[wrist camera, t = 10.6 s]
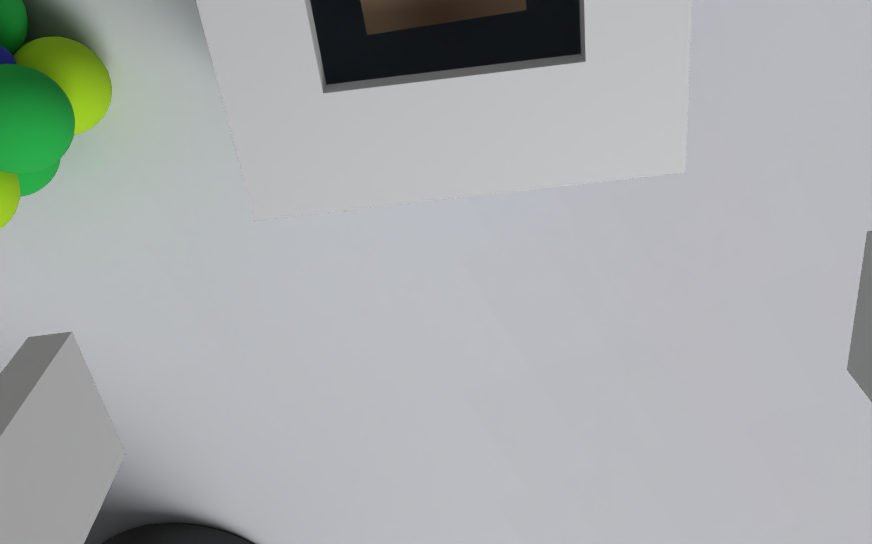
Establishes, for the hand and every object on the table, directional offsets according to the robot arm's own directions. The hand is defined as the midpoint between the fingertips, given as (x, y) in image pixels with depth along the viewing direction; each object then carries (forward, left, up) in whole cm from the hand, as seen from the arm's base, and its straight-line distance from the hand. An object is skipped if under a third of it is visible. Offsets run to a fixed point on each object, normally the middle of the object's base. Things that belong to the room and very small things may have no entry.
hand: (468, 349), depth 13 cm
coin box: (0, +2, -27) cm, 27 cm away
